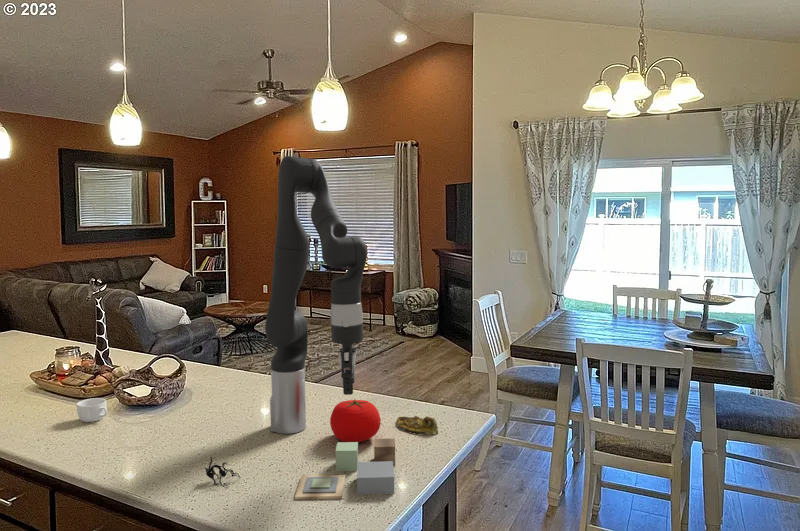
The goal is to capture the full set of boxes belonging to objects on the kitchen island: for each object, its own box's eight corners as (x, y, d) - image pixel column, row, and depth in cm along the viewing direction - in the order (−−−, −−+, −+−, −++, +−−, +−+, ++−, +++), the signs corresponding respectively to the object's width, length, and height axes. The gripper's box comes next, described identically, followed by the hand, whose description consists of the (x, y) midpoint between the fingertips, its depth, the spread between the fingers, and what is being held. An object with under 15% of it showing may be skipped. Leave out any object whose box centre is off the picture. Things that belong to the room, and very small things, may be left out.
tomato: (321, 436, 159) (320, 398, 158) (360, 425, 167) (360, 389, 166) (349, 453, 148) (348, 413, 147) (390, 441, 156) (390, 402, 155)
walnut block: (374, 467, 140) (374, 446, 140) (374, 458, 145) (374, 438, 145) (395, 466, 140) (395, 446, 140) (395, 458, 145) (394, 438, 145)
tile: (294, 499, 124) (294, 494, 124) (301, 477, 134) (301, 472, 134) (342, 498, 125) (342, 493, 125) (345, 477, 135) (345, 472, 134)
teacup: (71, 422, 170) (70, 404, 170) (94, 413, 177) (93, 396, 177) (95, 427, 166) (94, 409, 166) (118, 418, 173) (117, 400, 173)
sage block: (335, 471, 138) (335, 450, 138) (337, 462, 143) (337, 442, 143) (357, 471, 138) (356, 450, 138) (358, 461, 143) (358, 442, 143)
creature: (242, 477, 137) (207, 471, 137) (246, 455, 137) (212, 449, 136) (235, 493, 130) (199, 487, 129) (240, 470, 129) (203, 464, 128)
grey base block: (357, 495, 127) (357, 478, 126) (358, 478, 135) (357, 462, 134) (394, 494, 127) (394, 476, 127) (392, 477, 135) (392, 461, 135)
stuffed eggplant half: (386, 429, 167) (428, 442, 157) (385, 414, 166) (426, 426, 157) (407, 417, 174) (448, 429, 164) (406, 402, 173) (447, 413, 164)
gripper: (333, 316, 145) (335, 381, 147) (328, 327, 131) (331, 398, 133) (363, 316, 146) (365, 379, 147) (362, 326, 131) (364, 397, 133)
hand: (349, 388), depth 140 cm, fingers open, 8 cm apart
